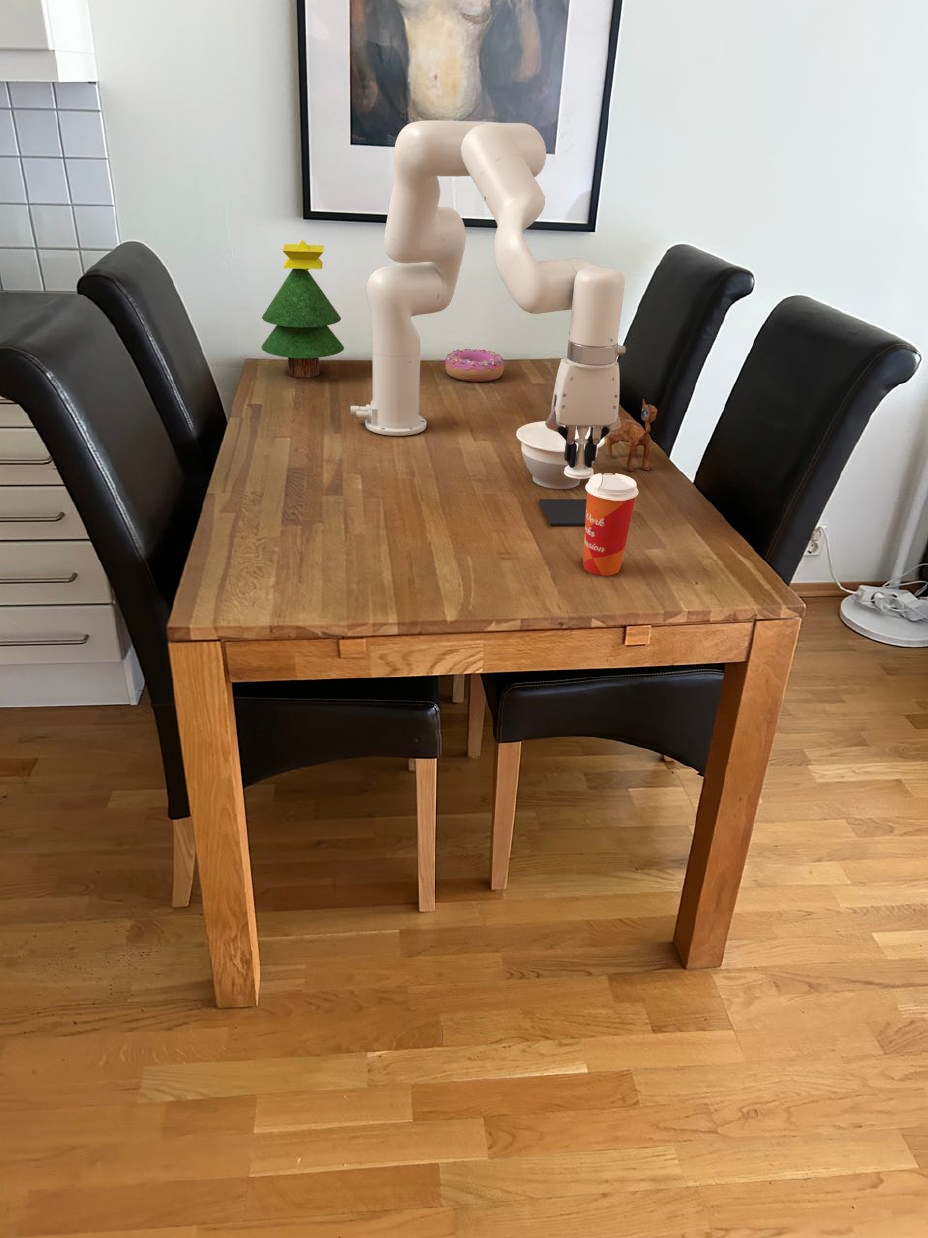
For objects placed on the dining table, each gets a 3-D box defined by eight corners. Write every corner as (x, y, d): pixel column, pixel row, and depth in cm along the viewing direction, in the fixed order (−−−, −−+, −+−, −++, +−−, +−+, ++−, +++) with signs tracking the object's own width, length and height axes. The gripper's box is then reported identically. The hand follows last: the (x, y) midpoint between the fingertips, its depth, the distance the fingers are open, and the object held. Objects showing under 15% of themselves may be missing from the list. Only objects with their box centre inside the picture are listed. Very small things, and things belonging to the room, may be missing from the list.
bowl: (576, 504, 162) (581, 457, 158) (497, 482, 169) (500, 437, 165) (613, 477, 174) (619, 433, 170) (538, 457, 181) (542, 414, 177)
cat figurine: (592, 443, 190) (600, 376, 183) (622, 441, 191) (631, 375, 185) (628, 476, 175) (638, 404, 168) (660, 474, 177) (672, 403, 170)
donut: (503, 385, 222) (505, 364, 220) (444, 382, 222) (444, 361, 219) (502, 368, 235) (503, 348, 232) (445, 365, 234) (446, 345, 232)
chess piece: (596, 470, 157) (602, 412, 152) (590, 480, 153) (595, 421, 148) (567, 466, 158) (572, 408, 153) (560, 476, 154) (565, 417, 149)
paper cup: (571, 555, 145) (581, 470, 138) (620, 555, 146) (632, 471, 139) (581, 579, 138) (592, 491, 131) (632, 579, 139) (645, 492, 132)
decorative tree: (266, 361, 230) (258, 231, 215) (344, 362, 233) (342, 233, 217) (260, 384, 214) (250, 245, 199) (344, 385, 216) (341, 247, 201)
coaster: (550, 526, 154) (550, 523, 154) (539, 501, 163) (539, 499, 163) (609, 525, 155) (609, 522, 155) (595, 501, 164) (595, 498, 164)
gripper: (635, 347, 150) (620, 456, 159) (536, 345, 148) (527, 456, 157) (648, 360, 143) (631, 473, 152) (545, 358, 141) (535, 473, 151)
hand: (579, 463), depth 155 cm, fingers closed on chess piece
